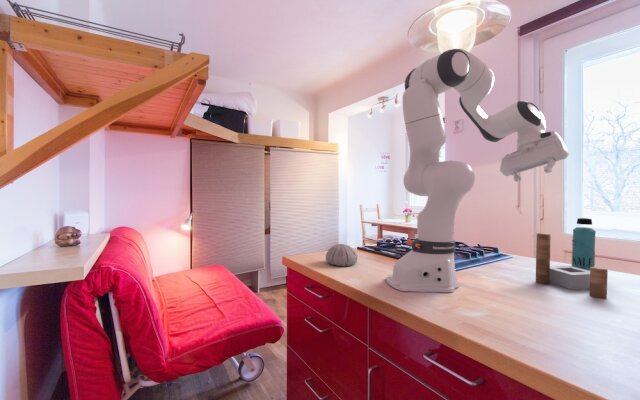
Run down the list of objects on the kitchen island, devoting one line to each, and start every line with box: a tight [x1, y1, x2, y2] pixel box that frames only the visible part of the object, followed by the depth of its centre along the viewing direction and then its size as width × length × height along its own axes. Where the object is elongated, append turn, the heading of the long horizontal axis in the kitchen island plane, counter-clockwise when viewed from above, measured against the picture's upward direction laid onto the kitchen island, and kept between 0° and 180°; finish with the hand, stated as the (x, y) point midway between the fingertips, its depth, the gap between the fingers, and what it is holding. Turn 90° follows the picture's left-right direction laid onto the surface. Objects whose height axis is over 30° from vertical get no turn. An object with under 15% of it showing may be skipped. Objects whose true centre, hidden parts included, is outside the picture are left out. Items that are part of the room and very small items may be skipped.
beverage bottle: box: [571, 217, 596, 271], centre depth 108 cm, size 6×7×20 cm
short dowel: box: [588, 266, 609, 299], centre depth 84 cm, size 4×4×8 cm
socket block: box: [549, 265, 590, 291], centre depth 95 cm, size 10×10×4 cm
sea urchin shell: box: [325, 243, 358, 267], centre depth 122 cm, size 13×14×8 cm
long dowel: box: [535, 232, 552, 286], centre depth 96 cm, size 4×4×16 cm
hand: (531, 176), depth 101 cm, fingers open, 8 cm apart
